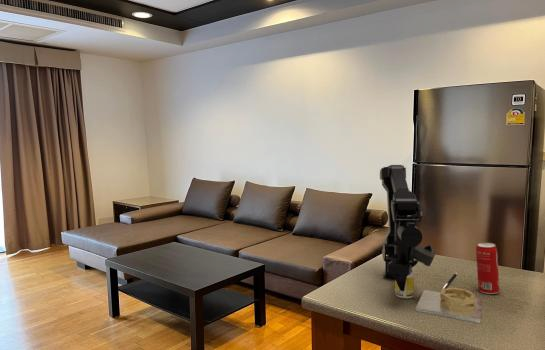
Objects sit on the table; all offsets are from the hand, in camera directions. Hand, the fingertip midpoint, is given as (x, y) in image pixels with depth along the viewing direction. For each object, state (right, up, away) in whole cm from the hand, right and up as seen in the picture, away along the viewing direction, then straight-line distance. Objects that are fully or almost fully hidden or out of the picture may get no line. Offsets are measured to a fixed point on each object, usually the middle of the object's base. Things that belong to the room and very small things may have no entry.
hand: (404, 287), depth 119 cm
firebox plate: (+10, -3, -8) cm, 13 cm away
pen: (+19, -2, +10) cm, 21 cm away
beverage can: (+27, -2, +2) cm, 27 cm away
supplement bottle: (0, -3, 0) cm, 3 cm away
